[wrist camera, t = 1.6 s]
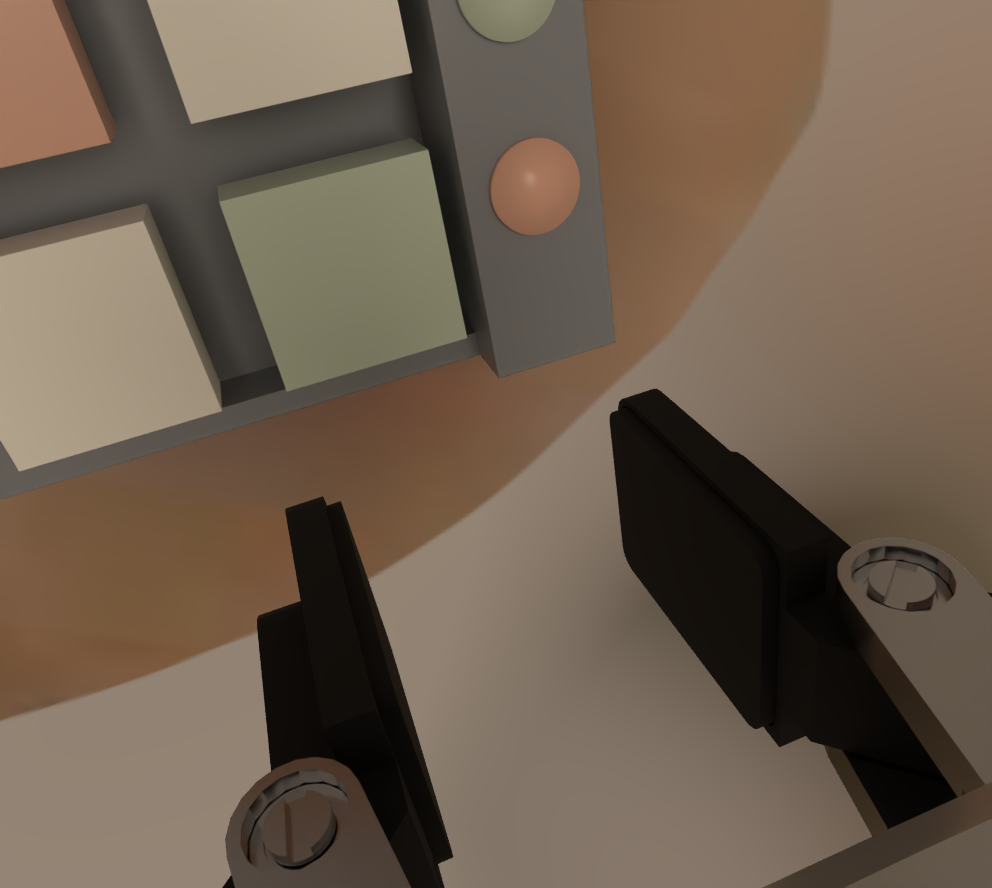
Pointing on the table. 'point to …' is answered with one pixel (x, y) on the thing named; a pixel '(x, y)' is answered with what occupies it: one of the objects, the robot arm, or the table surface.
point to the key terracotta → (46, 85)
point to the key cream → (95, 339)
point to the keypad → (338, 131)
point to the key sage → (346, 260)
